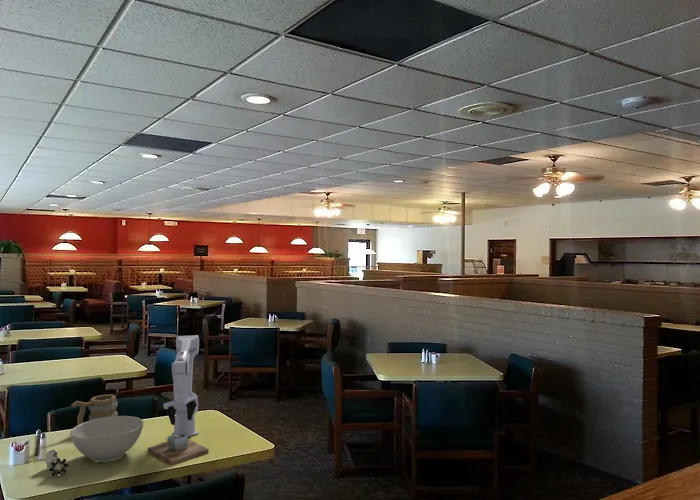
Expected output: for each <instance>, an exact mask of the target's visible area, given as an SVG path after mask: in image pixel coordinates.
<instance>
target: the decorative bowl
mask: <svg viewBox="0 0 700 500" xmlns="http://www.w3.org/2000/svg"><path fill="white" fill-rule="evenodd" d="M143 427H144V420H143V419H141V418H139V417H137V416H130V415H129V416H128V415H118V416H113V417H105V418H99V419H95V420H91V421H90V420H88V421H85V422H84V421H83V423H82V424H79V425H78V424H77V425H76V426H74V427H73V428H72V429H71V430H70V432H69V436H70V438H71V441H72V443H73V445H74V446H75V448H76V449H77V451H78V452H80V453H81V454H82V455H83V456H85V457H87V458H89V459H90V460H91V459H92V460H93V461H98V462H104V463H110V462H109V461H111V462H114V461H117V460H119V459H122V458H123V457H124V456H125V455H126V453H127V452H128V451H129V450H130V449H132V448H133V447H134V445H135V444H136V443H137V441H138V440H139V438H140V436H141V433H142V430H143ZM92 460H91V461H92ZM93 461H92V462H93ZM98 462H97V463H98Z"/></svg>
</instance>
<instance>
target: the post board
mask: <svg viewBox="0 0 700 500" xmlns="http://www.w3.org/2000/svg"><path fill="white" fill-rule="evenodd" d="M174 435H175V434H174ZM181 437H182V436H181V435H175V436H174V439H177V438H181ZM147 452H148V453H149V454H151V455H153V456H155V457H156V458H159V459H160V460H162V461H165V462H166V463H168V464H170V465H176V464H179V463H182V462H185V461H187V460H190V459H193V458H197V457H199V456H203V455H207V454H209V448H207V447H205V446H203V445H201V444H199V443H197V442H194V441H192V440H190V439H188V448H187V449H184V450H181V451H177V452H173V451H172V450H170V449H168V441H166V442H162V443H159V444H156V445H153V446H148V447H147Z"/></svg>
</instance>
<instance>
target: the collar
mask: <svg viewBox="0 0 700 500" xmlns="http://www.w3.org/2000/svg"><path fill="white" fill-rule="evenodd" d="M175 435H181V436H182V437H181V438H177V439H174V436H175ZM188 440H189V438H188V437H187V436H186V435H184V434H182V433H178V434H172V435H169V436H167V442H168V449H170V450H172V451H173V452H177V451H181V450H184V449H187V448H188Z"/></svg>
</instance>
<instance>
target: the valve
mask: <svg viewBox="0 0 700 500" xmlns="http://www.w3.org/2000/svg"><path fill="white" fill-rule="evenodd" d="M45 464H46V469H47V468H49V469H48V470H47V471H48V472H51V473H50V475H51V477H52V476H53V477H54V476H56V475H57V474H61V473H64V474H65V473H67V469H66V468H68V467H69V463H68V462H67V459H66V458H63V459H61V458H60V457H58V450H57V449H49V450H47V451H46V458H45ZM62 465H63V467H62ZM54 468H56V469H54ZM60 469H61V470H60ZM55 470H56V471H55ZM61 475H62V474H61Z"/></svg>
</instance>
